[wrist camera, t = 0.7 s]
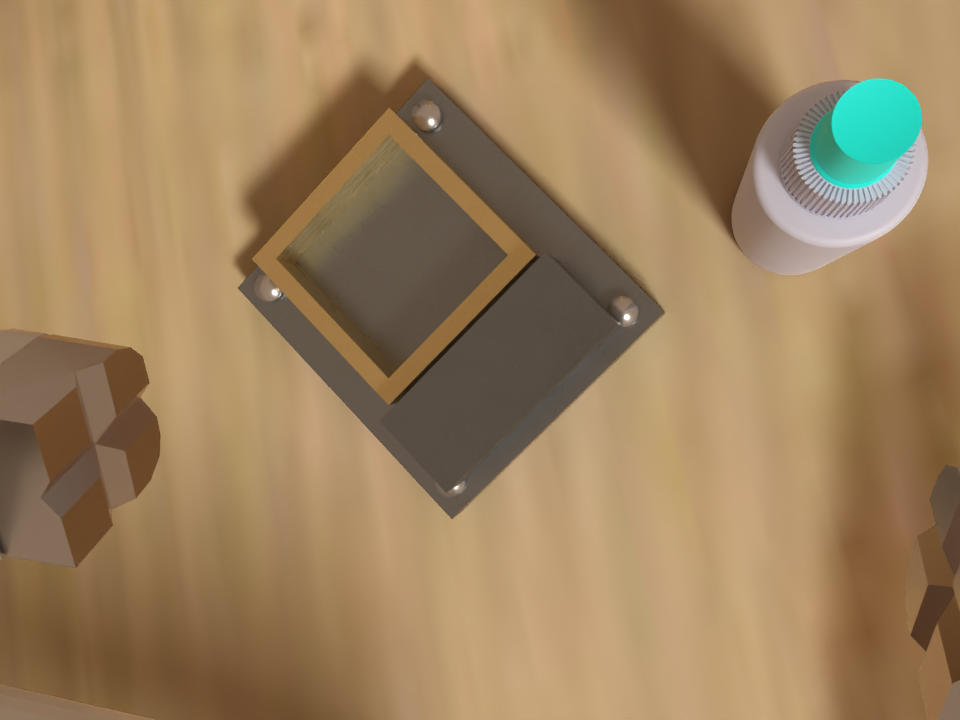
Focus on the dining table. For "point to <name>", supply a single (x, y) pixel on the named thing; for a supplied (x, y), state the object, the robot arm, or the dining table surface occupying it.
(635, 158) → the dining table surface
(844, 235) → the spray bottle
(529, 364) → the grey plate with frame
